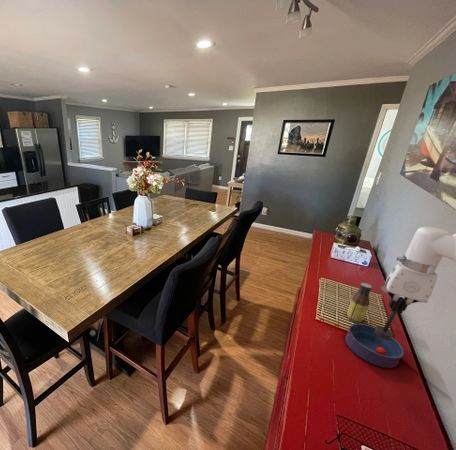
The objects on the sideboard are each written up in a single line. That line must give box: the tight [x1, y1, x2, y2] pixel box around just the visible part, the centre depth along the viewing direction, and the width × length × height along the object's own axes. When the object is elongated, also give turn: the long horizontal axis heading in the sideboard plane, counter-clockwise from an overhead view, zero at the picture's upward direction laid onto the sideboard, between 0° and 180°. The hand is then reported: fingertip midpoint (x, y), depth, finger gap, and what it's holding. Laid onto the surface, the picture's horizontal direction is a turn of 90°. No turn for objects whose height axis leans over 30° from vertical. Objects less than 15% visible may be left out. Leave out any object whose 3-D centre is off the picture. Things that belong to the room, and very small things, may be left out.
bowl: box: [344, 323, 405, 369], centre depth 99 cm, size 17×17×6 cm
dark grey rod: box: [374, 296, 404, 340], centre depth 85 cm, size 5×5×17 cm
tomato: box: [376, 347, 386, 355], centre depth 97 cm, size 3×3×3 cm
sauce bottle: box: [346, 282, 373, 323], centre depth 113 cm, size 7×6×20 cm
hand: (395, 309), depth 84 cm, fingers closed on dark grey rod, 1 cm apart
